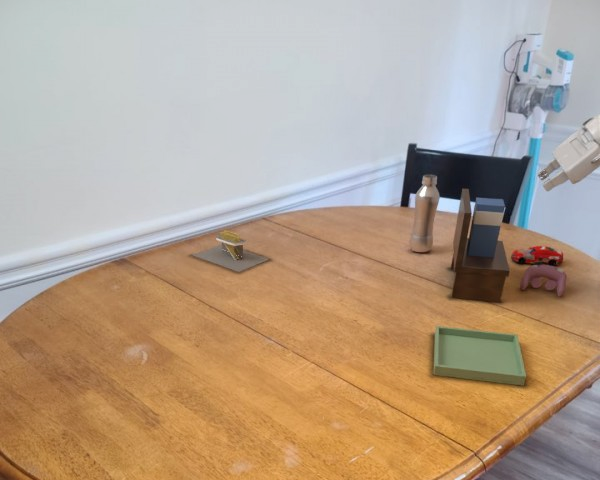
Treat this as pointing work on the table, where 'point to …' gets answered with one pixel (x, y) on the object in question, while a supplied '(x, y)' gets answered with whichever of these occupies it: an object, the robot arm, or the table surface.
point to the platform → (231, 253)
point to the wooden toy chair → (476, 263)
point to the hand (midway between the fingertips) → (541, 182)
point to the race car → (538, 255)
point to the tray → (478, 355)
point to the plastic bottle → (424, 215)
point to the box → (485, 227)
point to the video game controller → (545, 271)
